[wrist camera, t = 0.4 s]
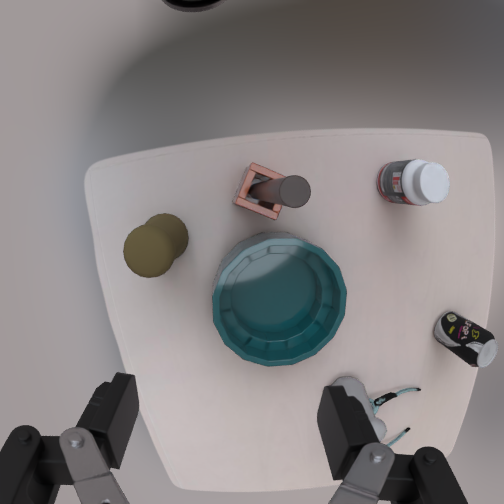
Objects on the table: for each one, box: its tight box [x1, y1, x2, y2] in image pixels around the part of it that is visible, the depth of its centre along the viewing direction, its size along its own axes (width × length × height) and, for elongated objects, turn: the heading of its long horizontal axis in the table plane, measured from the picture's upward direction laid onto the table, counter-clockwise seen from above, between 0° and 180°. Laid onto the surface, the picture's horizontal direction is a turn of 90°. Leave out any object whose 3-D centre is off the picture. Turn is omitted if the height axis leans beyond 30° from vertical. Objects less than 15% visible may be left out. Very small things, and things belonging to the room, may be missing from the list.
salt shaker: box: [331, 377, 387, 442], centre depth 40 cm, size 6×6×13 cm
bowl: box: [212, 232, 347, 366], centre depth 39 cm, size 16×16×6 cm
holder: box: [232, 163, 286, 220], centre depth 36 cm, size 5×5×7 cm
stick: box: [249, 175, 311, 208], centre depth 29 cm, size 2×2×20 cm
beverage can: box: [435, 311, 498, 368], centre depth 41 cm, size 6×6×12 cm
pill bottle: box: [377, 159, 450, 206], centre depth 36 cm, size 6×6×10 cm
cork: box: [123, 213, 188, 278], centre depth 34 cm, size 6×6×11 cm
